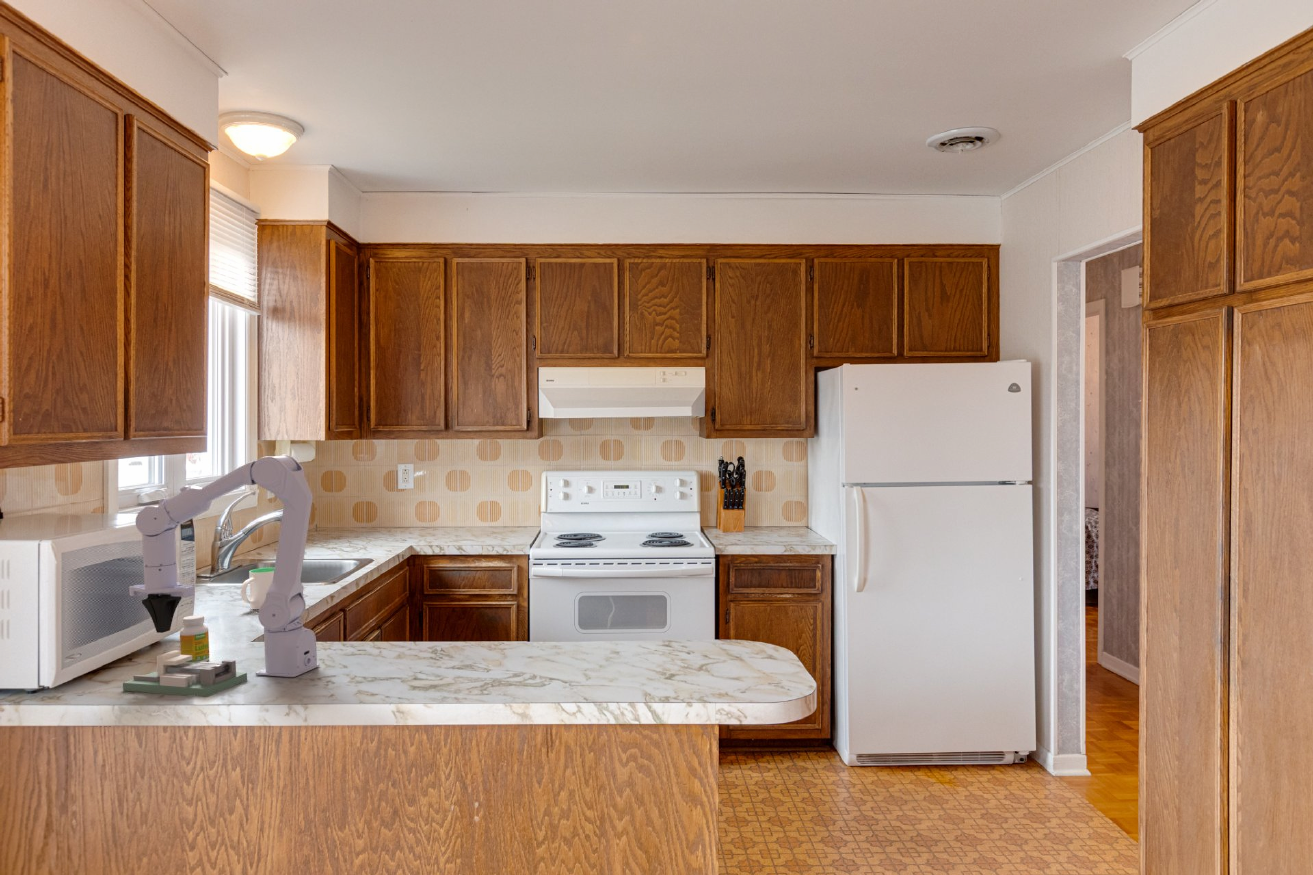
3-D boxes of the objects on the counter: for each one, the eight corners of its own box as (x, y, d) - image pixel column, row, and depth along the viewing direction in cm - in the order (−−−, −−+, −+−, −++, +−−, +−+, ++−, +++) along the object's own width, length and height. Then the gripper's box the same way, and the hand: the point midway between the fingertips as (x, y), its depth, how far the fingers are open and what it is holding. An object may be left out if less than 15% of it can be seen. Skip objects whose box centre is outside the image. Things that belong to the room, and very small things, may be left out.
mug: (256, 613, 224) (255, 575, 224) (232, 612, 227) (231, 574, 226) (288, 604, 236) (286, 567, 236) (265, 603, 238) (263, 567, 238)
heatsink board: (247, 680, 163) (246, 657, 163) (206, 697, 153) (205, 673, 153) (167, 674, 169) (166, 652, 169) (123, 690, 159) (122, 667, 159)
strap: (229, 671, 160) (229, 662, 160) (214, 677, 157) (214, 668, 157) (180, 669, 164) (180, 660, 163) (165, 674, 160) (165, 665, 160)
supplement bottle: (196, 665, 175) (194, 620, 174) (174, 665, 176) (173, 619, 176) (215, 658, 180) (213, 614, 180) (193, 658, 181) (192, 614, 181)
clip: (192, 674, 163) (192, 651, 163) (175, 680, 159) (174, 657, 159) (174, 672, 164) (173, 650, 164) (157, 679, 160) (156, 656, 160)
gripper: (205, 561, 168) (208, 627, 169) (149, 561, 172) (152, 625, 173) (176, 567, 162) (179, 636, 162) (118, 567, 166) (122, 634, 166)
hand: (163, 631), depth 167 cm, fingers closed
